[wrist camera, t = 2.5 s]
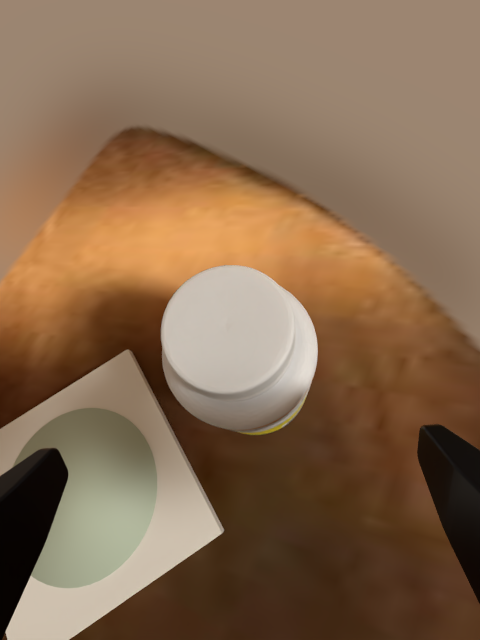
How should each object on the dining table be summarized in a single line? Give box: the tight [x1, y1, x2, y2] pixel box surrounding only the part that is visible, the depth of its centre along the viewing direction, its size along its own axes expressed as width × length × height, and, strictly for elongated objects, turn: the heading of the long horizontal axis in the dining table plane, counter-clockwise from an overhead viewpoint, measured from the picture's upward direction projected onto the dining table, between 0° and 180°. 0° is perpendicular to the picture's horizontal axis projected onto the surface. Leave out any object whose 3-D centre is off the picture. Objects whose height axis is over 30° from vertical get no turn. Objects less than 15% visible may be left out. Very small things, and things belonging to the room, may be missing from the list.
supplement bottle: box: [161, 265, 318, 435], centre depth 15 cm, size 6×6×10 cm
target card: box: [0, 349, 224, 640], centre depth 18 cm, size 11×11×1 cm
